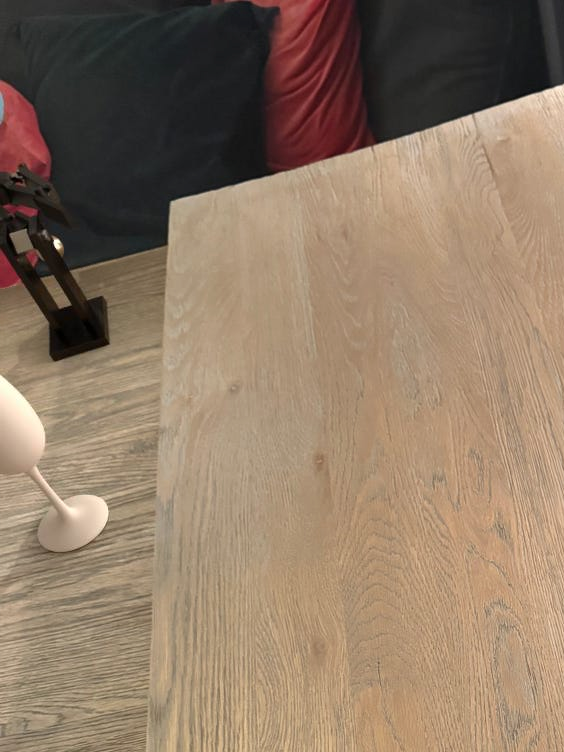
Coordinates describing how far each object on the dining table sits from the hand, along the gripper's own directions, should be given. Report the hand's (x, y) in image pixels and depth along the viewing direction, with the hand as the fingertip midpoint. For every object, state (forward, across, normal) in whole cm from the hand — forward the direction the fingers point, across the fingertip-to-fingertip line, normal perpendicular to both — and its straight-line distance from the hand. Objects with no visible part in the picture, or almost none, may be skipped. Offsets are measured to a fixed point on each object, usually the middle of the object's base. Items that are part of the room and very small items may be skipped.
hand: (57, 226), depth 125 cm
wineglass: (+32, +28, -12) cm, 44 cm away
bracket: (+2, +6, -12) cm, 14 cm away
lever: (0, +4, -3) cm, 5 cm away
